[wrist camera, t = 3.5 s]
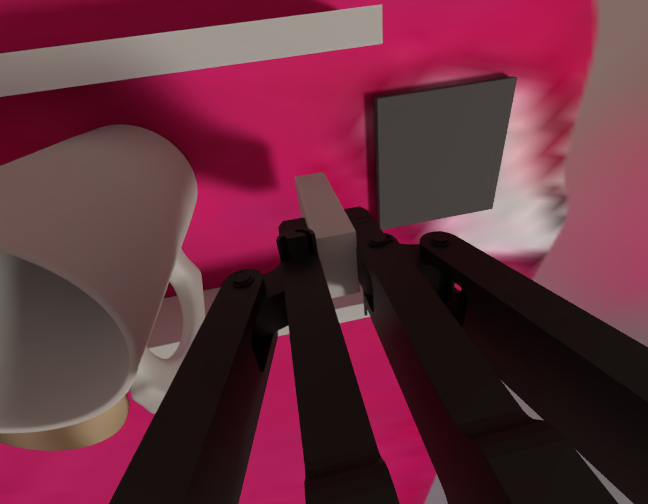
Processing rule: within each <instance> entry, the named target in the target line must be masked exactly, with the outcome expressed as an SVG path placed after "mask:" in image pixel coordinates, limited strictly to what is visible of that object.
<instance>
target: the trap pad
mask: <svg viewBox="0 0 648 504" xmlns="http://www.w3.org/2000/svg"><path fill="white" fill-rule="evenodd" d="M516 81H517V77H505V78H498V79H492V80H485V81H479V82H472V83H466V84H459V85H453V86H446V87H440V88H433V89H427V90H420V91H414V92H407V93H401V94H394V95H388V96H381V97H375V98H374V117H375V154H376V192H377V225H378V226H379V228H380V229H381V230H383V229H388V228H393V227H398V226H404V225H409V224H414V223H419V222H425V221H430V220H435V219H440V218H446V217H451V216H456V215H461V214H467V213H472V212H477V211H483V210H488V209H492V207H493V202H494V197H495V191H496V186H497V181H498V176H499V170H500V165H501V160H502V155H503V149H504V144H505V139H506V134H507V128H508V123H509V118H510V113H511V107H512V102H513V97H514V91H515V86H516Z"/></svg>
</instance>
